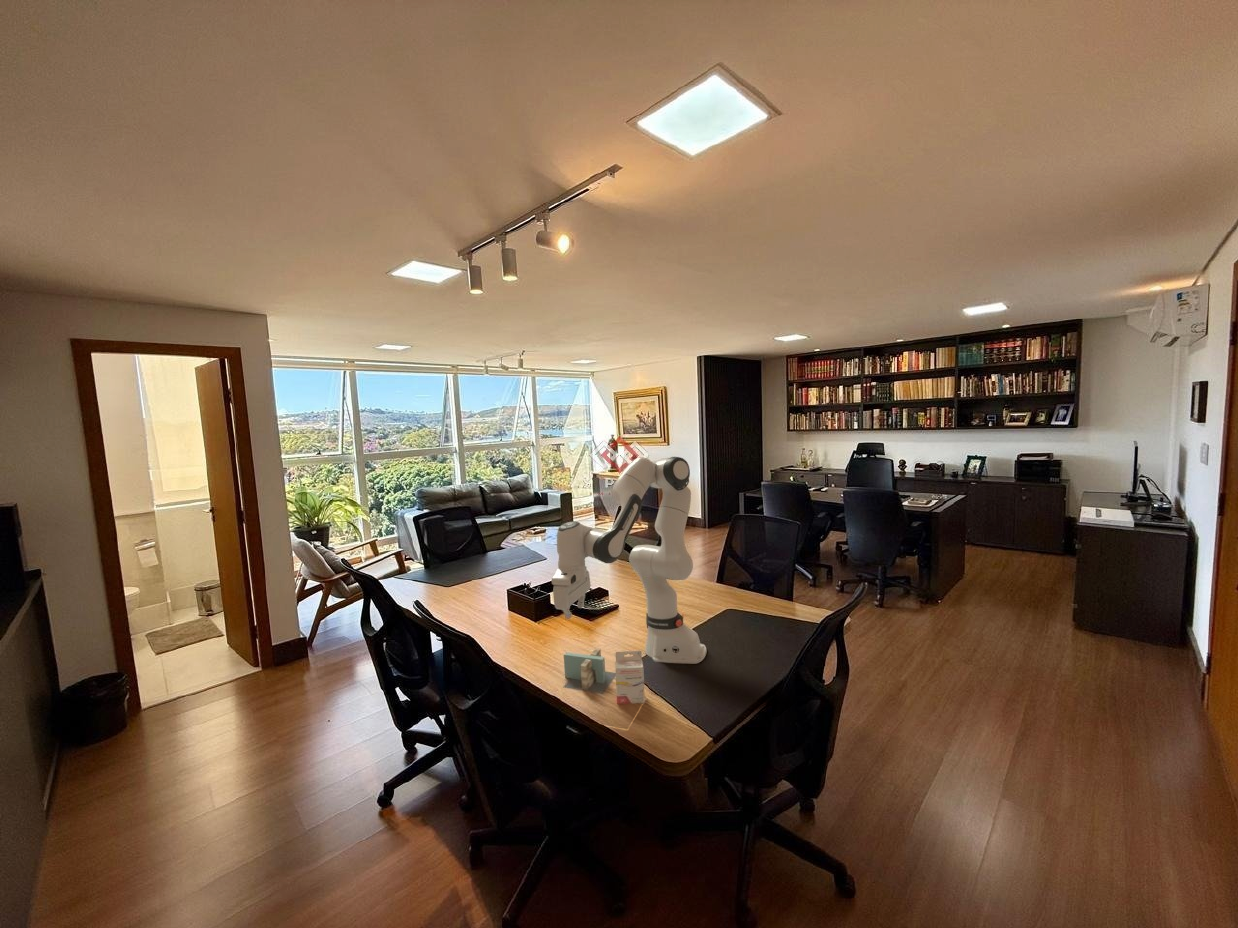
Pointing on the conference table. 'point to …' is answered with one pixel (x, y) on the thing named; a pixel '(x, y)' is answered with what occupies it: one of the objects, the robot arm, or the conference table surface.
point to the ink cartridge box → (629, 678)
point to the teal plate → (574, 666)
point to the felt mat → (595, 685)
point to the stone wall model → (588, 671)
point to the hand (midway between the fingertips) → (574, 612)
